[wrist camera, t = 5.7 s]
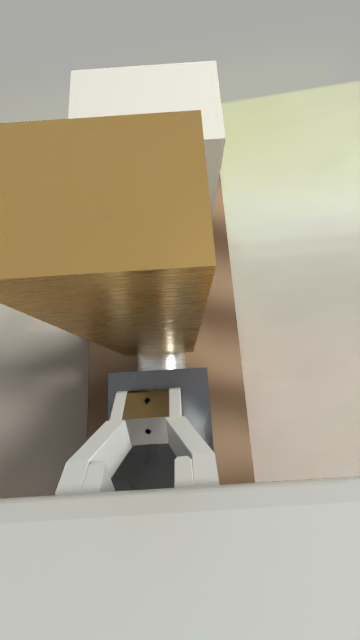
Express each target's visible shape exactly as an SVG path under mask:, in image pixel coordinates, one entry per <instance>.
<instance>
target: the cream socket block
mask: <svg viewBox="0 0 360 640" xmlns="http://www.w3.org/2000/svg"><path fill="white" fill-rule="evenodd" d="M191 110H201V116H202V126H203V136H204V146H205V156H206V166H207V176H208V186H209V196H210V207H211V217H213V211H214V205H215V199H216V193H217V187H218V181H219V175H220V168H221V162H222V156H223V150H224V144H225V131H224V123H223V115H222V107H221V99H220V90H219V82H218V74H217V67H216V61H203V62H188V63H175V64H159V65H145V66H131V67H116V68H102V69H87V70H73V71H71V83H70V99H69V117H68V119H73V118H88V117H103V116H117V115H132V114H147V113H162V112H176V111H191Z"/></svg>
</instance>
